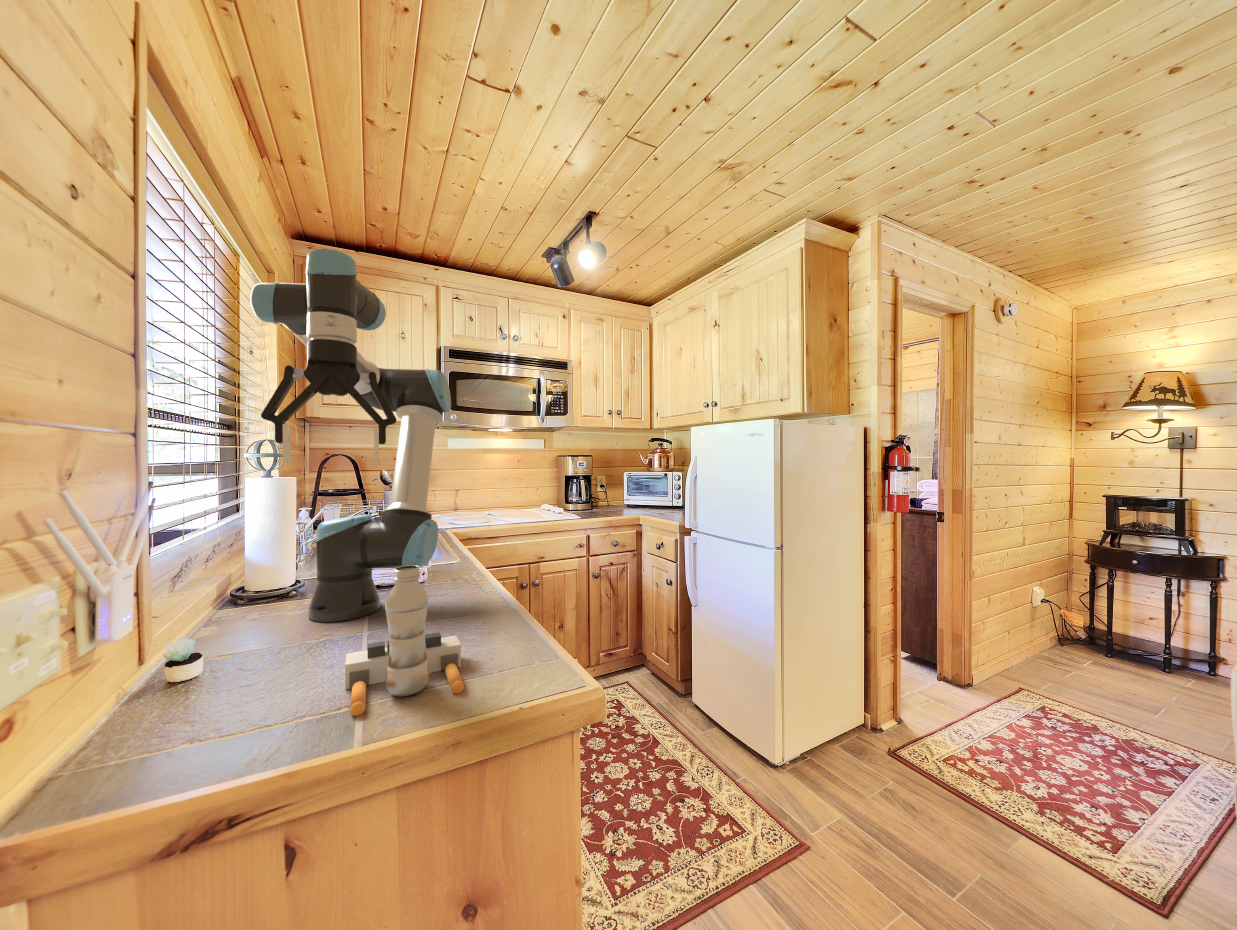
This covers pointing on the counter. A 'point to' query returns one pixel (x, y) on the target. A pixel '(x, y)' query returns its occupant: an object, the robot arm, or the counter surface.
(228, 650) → the counter surface
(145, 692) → the counter surface
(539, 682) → the counter surface
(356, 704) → the cord
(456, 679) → the cord
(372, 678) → the breaker strip
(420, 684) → the plastic bottle
